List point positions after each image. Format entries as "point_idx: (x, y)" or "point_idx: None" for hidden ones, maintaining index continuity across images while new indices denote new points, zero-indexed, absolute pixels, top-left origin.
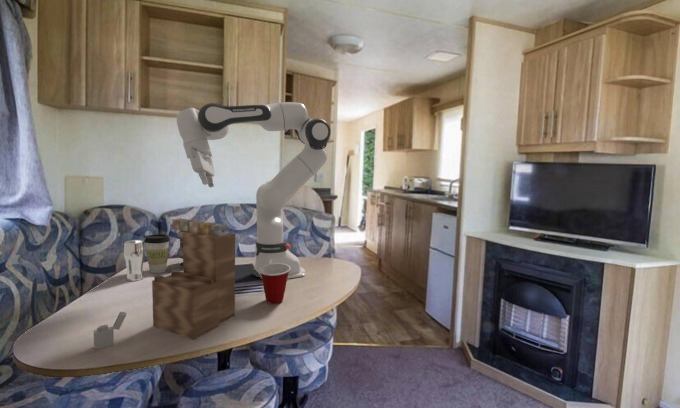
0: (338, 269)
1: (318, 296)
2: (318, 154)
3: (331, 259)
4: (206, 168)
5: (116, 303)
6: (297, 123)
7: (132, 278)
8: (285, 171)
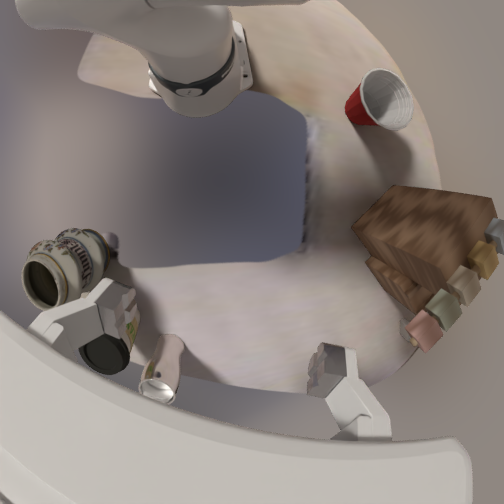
0: None
1: (353, 45)
2: None
3: None
4: (352, 465)
5: (288, 349)
6: None
7: (183, 350)
8: None
